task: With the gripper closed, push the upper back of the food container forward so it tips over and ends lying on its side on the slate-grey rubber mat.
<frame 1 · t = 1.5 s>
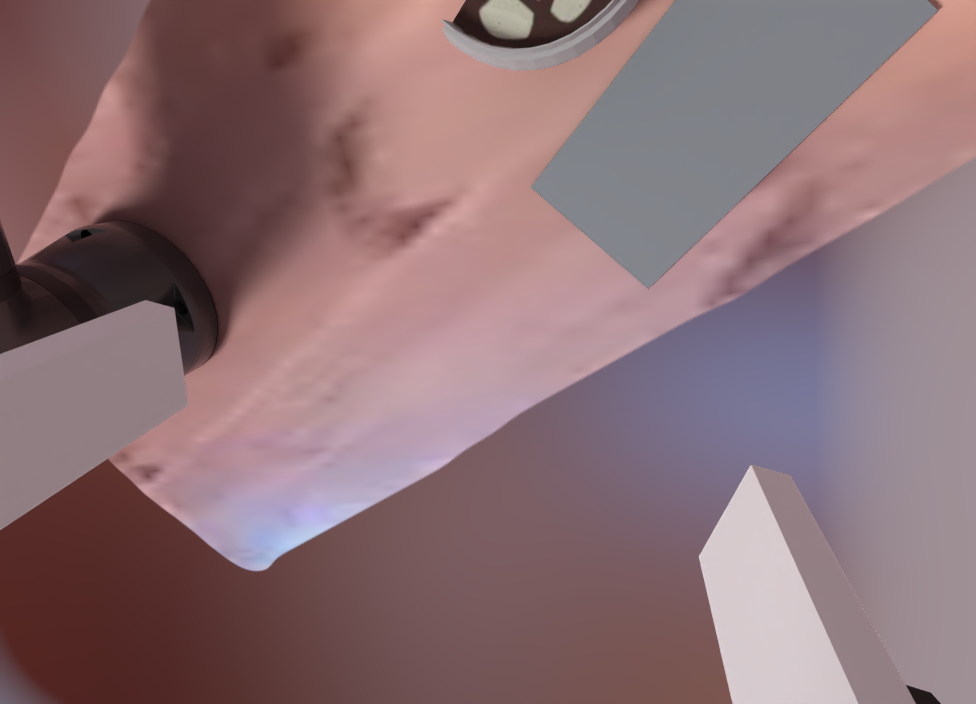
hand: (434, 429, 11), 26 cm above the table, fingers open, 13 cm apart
food container: (587, 3, 28), on the table
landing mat: (704, 111, 28), on the table
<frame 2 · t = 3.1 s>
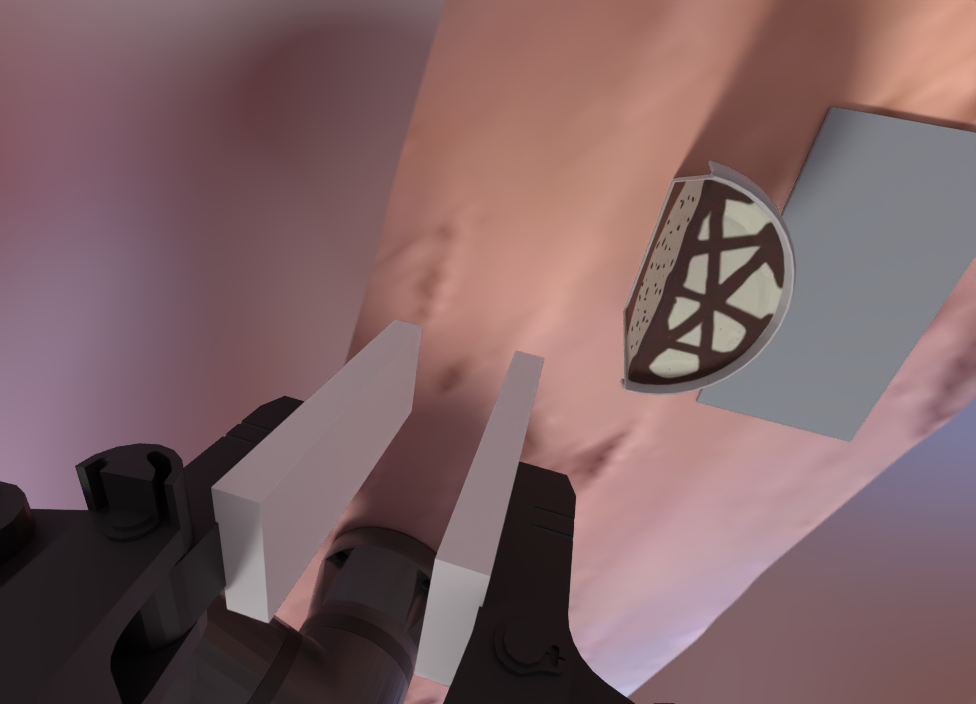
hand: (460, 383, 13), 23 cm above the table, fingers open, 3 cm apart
food container: (691, 260, 31), on the table
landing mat: (840, 294, 30), on the table
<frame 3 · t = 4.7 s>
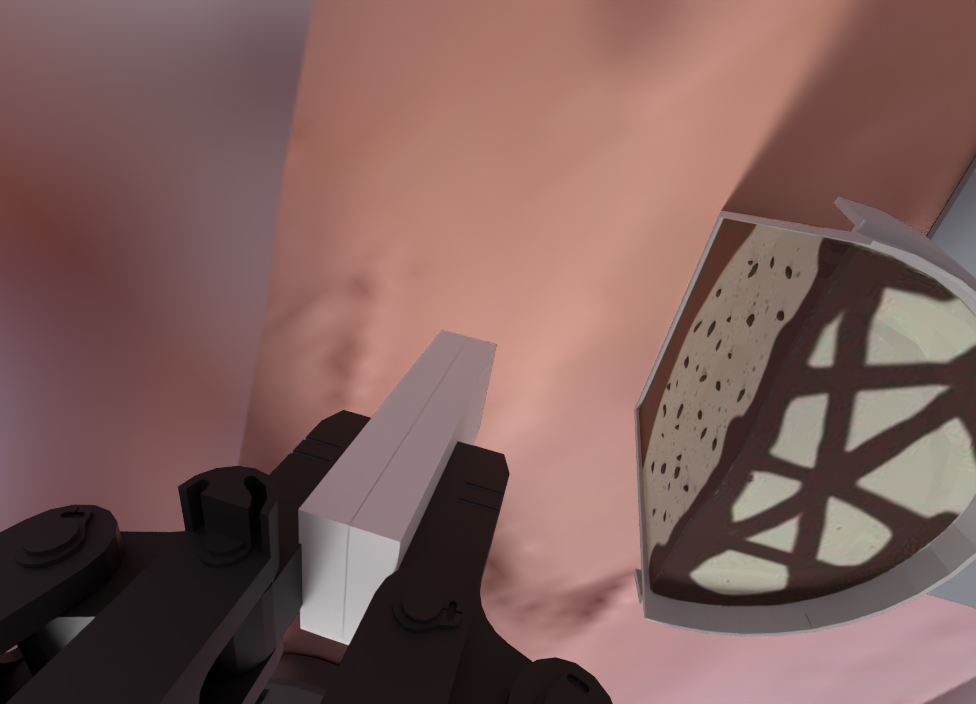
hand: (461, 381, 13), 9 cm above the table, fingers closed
food container: (744, 339, 20), on the table
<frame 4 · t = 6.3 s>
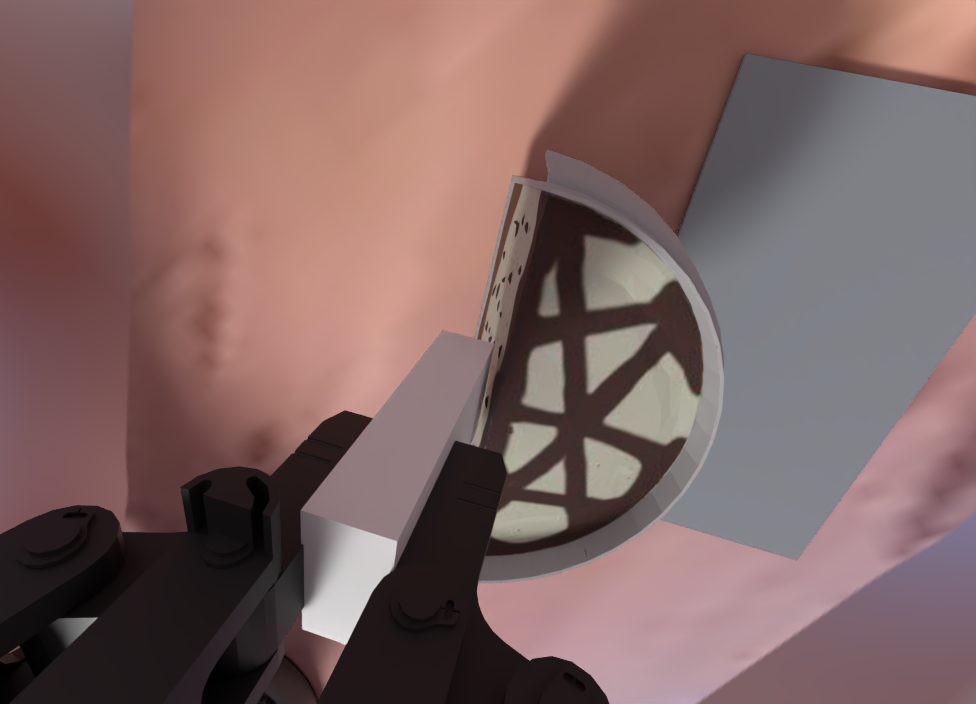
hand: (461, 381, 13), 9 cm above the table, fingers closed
food container: (554, 300, 21), on the table, touching gripper
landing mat: (774, 355, 20), on the table
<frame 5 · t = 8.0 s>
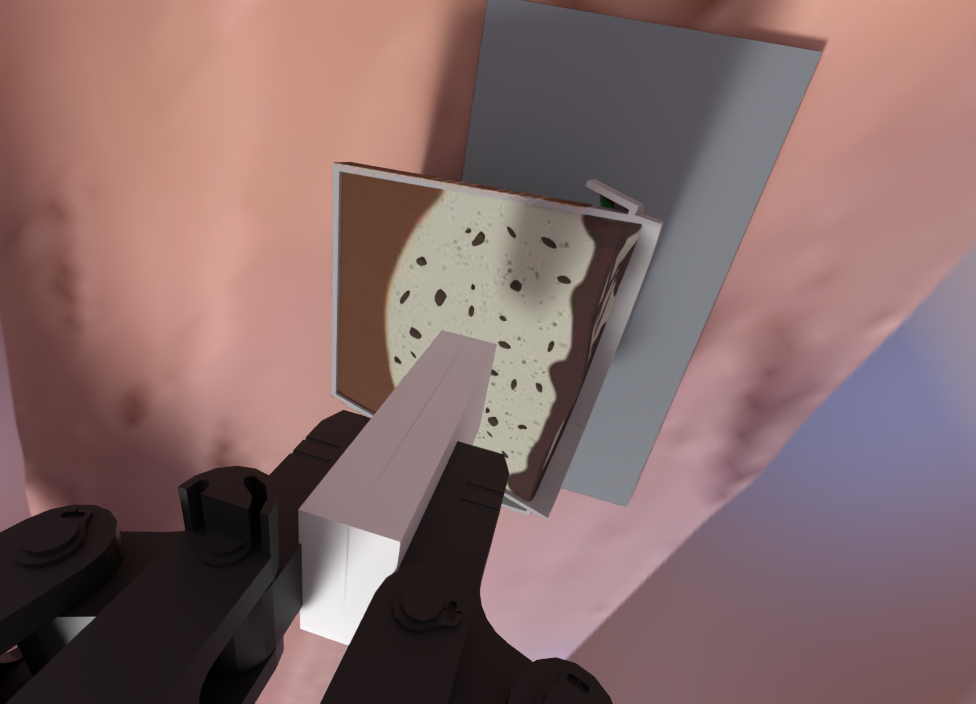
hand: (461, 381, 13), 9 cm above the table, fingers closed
food container: (377, 271, 20), point 2 cm above the table, touching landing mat
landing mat: (571, 299, 20), on the table
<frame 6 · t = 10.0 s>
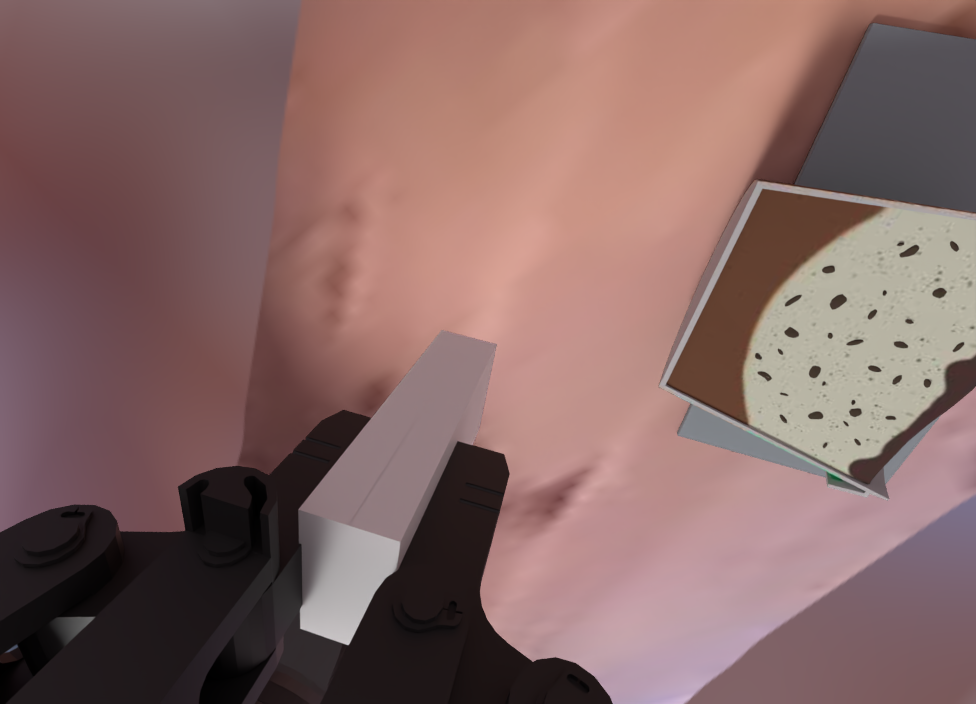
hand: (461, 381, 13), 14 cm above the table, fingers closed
food container: (701, 273, 21), point 2 cm above the table, touching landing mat
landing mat: (873, 300, 22), on the table
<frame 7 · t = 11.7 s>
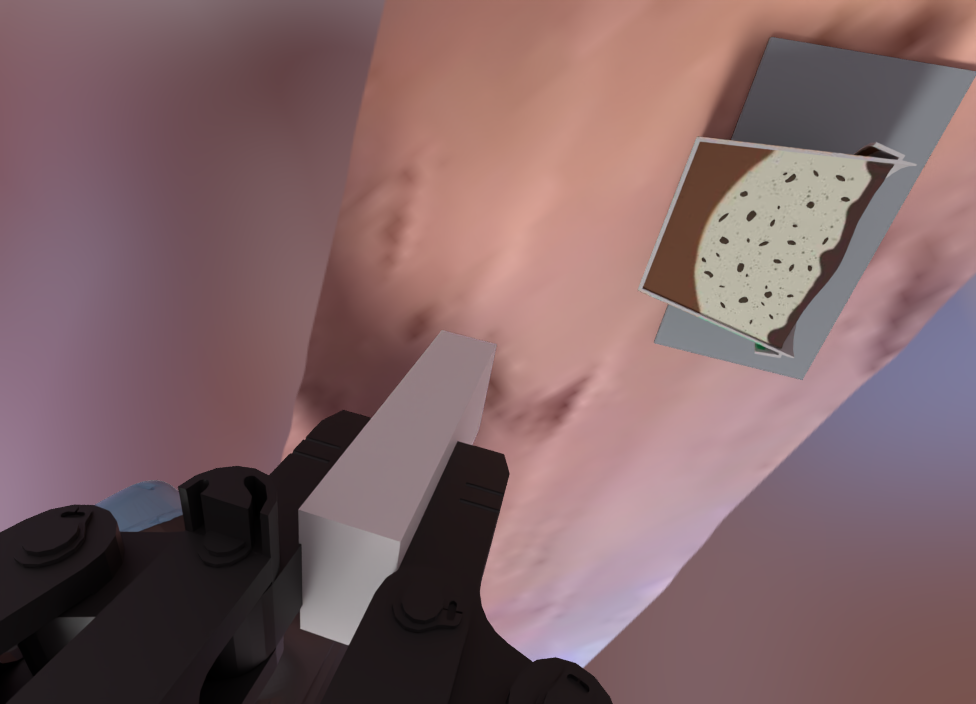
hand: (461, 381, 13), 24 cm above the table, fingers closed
food container: (666, 210, 30), point 2 cm above the table, touching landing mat
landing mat: (787, 229, 31), on the table
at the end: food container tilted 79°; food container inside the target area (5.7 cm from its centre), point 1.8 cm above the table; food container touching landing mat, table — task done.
